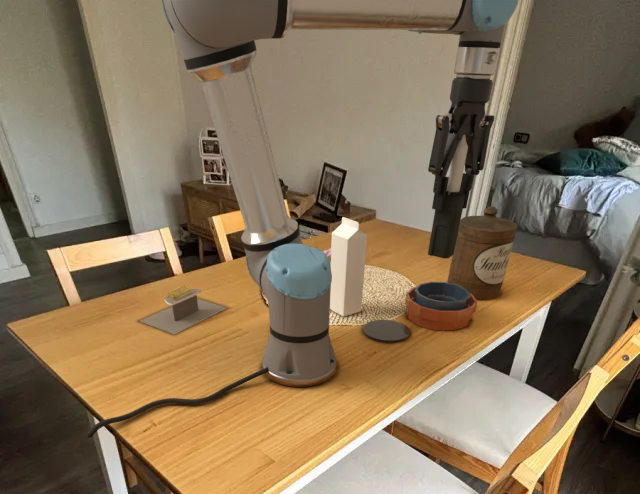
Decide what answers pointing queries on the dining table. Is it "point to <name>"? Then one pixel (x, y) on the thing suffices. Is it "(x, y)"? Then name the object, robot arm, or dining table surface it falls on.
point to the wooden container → (482, 254)
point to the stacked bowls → (440, 305)
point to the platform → (182, 311)
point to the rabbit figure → (328, 252)
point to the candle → (450, 208)
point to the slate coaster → (386, 331)
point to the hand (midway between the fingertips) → (449, 208)
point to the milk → (347, 267)
